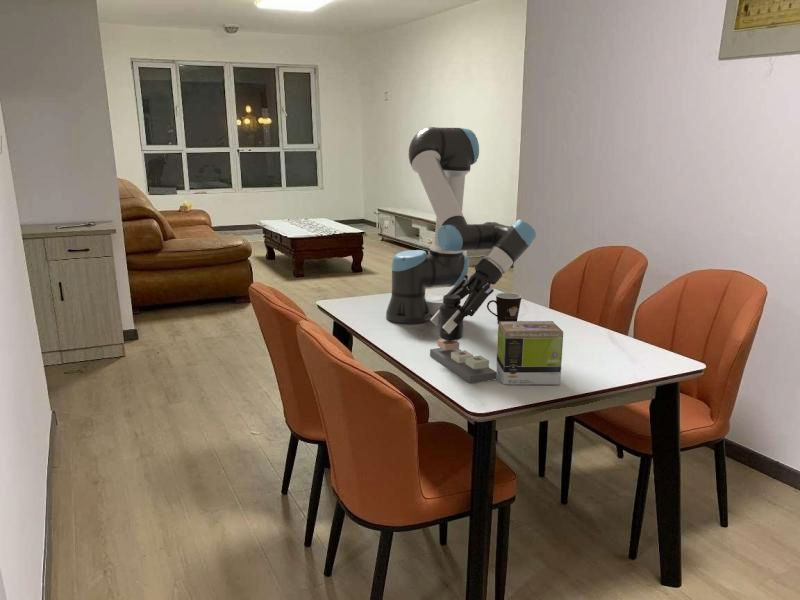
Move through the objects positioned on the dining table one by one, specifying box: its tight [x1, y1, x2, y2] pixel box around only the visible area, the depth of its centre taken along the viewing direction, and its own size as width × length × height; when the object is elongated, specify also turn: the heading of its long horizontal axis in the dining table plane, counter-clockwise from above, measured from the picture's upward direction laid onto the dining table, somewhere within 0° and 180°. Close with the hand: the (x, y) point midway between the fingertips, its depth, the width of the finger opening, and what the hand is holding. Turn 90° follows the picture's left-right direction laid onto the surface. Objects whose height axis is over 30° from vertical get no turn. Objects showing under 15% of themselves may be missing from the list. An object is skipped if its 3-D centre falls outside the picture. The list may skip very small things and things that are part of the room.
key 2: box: [465, 354, 490, 369], centre depth 167 cm, size 4×4×2 cm
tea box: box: [496, 320, 564, 386], centre depth 166 cm, size 15×10×15 cm, turn 92°
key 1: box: [437, 338, 460, 351], centre depth 181 cm, size 4×4×2 cm
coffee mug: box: [486, 292, 522, 325], centre depth 217 cm, size 12×9×10 cm
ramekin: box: [425, 294, 444, 316], centre depth 230 cm, size 11×11×5 cm
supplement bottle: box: [438, 294, 464, 341], centre depth 178 cm, size 7×7×12 cm
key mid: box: [451, 350, 474, 363], centre depth 174 cm, size 4×4×2 cm
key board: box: [429, 347, 498, 384], centre depth 175 cm, size 23×8×2 cm, turn 24°
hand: (439, 326), depth 177 cm, fingers closed on supplement bottle, 7 cm apart
